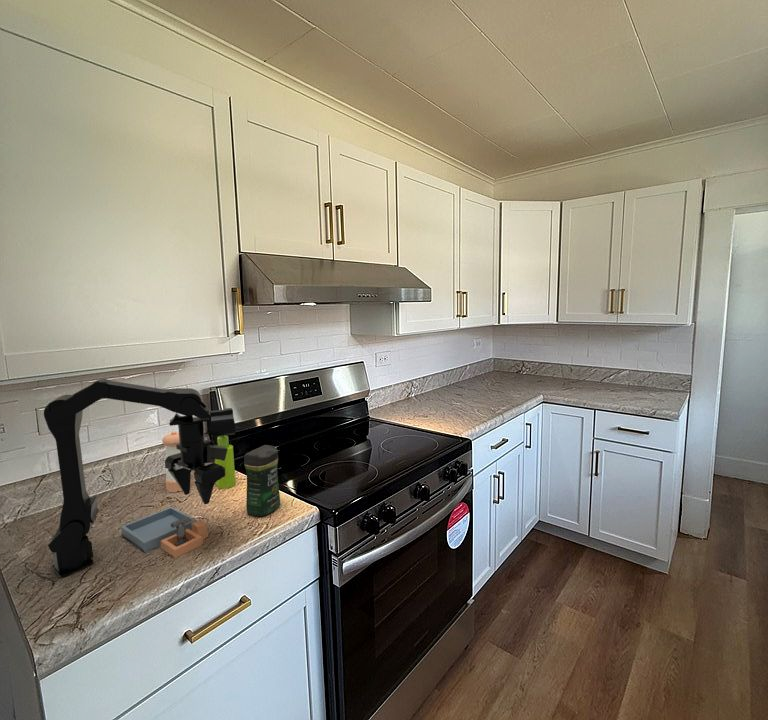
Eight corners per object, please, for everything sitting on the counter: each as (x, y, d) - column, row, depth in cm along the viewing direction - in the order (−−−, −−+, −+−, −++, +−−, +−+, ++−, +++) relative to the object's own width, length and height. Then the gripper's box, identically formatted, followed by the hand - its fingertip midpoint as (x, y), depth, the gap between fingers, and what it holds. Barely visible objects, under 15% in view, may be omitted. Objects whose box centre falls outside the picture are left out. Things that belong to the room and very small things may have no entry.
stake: (176, 551, 103) (173, 525, 102) (172, 548, 104) (169, 522, 103) (192, 544, 106) (189, 518, 105) (187, 541, 107) (185, 516, 106)
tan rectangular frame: (175, 558, 100) (173, 542, 100) (161, 548, 104) (159, 533, 104) (212, 539, 108) (211, 525, 107) (197, 531, 112) (196, 517, 111)
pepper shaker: (181, 481, 144) (176, 427, 142) (195, 485, 141) (190, 429, 138) (161, 489, 138) (156, 433, 135) (175, 494, 134) (170, 436, 132)
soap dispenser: (219, 491, 136) (214, 431, 133) (215, 484, 141) (210, 426, 139) (238, 487, 139) (234, 428, 136) (233, 480, 144) (229, 423, 142)
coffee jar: (264, 519, 117) (260, 455, 115) (242, 514, 120) (238, 452, 118) (285, 504, 126) (282, 444, 124) (264, 500, 129) (260, 441, 127)
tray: (145, 552, 102) (144, 543, 102) (121, 535, 110) (120, 526, 110) (197, 528, 113) (196, 520, 113) (172, 514, 121) (171, 506, 121)
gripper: (242, 437, 106) (246, 496, 108) (202, 426, 117) (206, 479, 119) (200, 450, 97) (205, 514, 99) (161, 436, 108) (166, 494, 110)
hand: (196, 498), depth 107 cm, fingers open, 9 cm apart
